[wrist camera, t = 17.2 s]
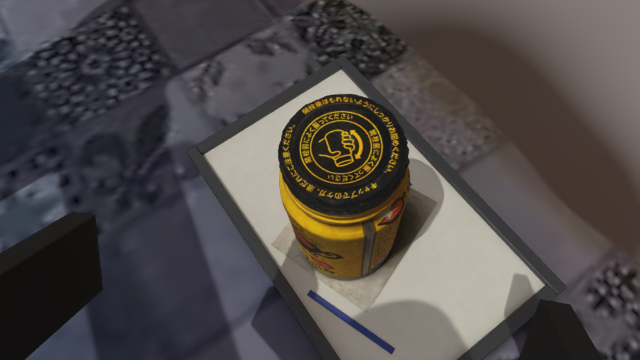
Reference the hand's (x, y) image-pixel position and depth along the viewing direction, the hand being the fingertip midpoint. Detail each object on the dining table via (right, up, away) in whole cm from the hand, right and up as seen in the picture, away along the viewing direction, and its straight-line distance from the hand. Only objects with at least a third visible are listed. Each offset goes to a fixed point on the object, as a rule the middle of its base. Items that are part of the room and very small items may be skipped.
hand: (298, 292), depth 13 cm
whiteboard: (+3, +1, +16) cm, 16 cm away
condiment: (+3, 0, +15) cm, 16 cm away
